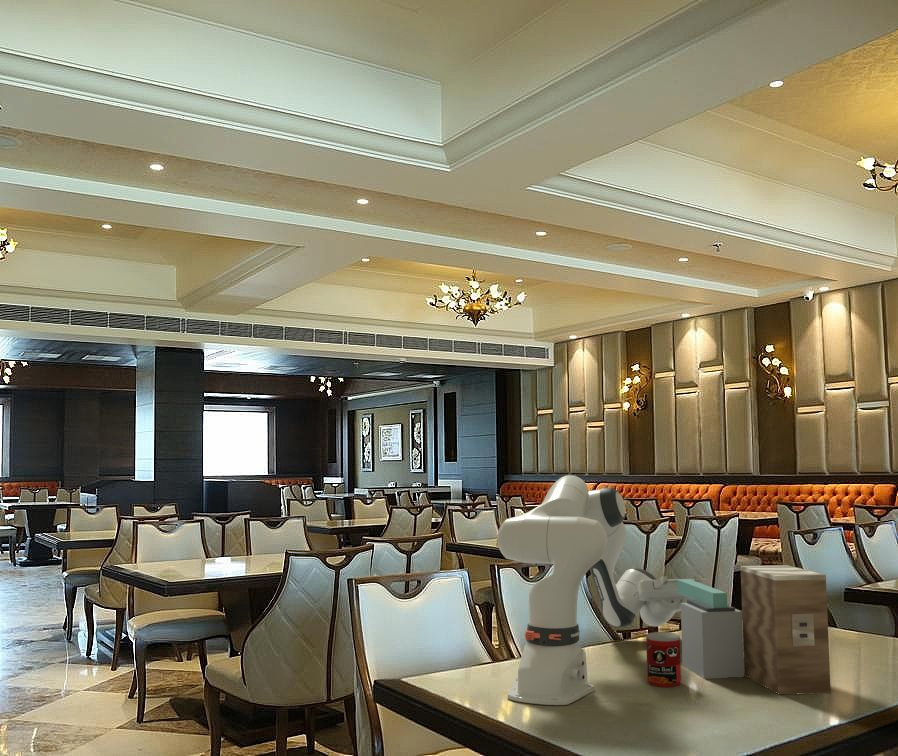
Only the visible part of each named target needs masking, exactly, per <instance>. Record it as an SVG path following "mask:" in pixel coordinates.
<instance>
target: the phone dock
mask: <svg viewBox="0 0 898 756" xmlns="http://www.w3.org/2000/svg"><path fill="white" fill-rule="evenodd" d="M680 621H681V623H680V625H681V626H680V627H681V650H682V651H681V653H682V654H681V658H682V662H681V663H682V664H681V665H682V666H683V667H685V668H686V669H688V670H689V671H691V672H693V673H694V674H696V675H697V676H699V677H700V678H702V679H705V680H706V679H707V680H708V679H711V680H712V679H729V678H728V677H744V678H745V675H744V652H743V622H742V610H739V609H737V608H736V607H733V606H732V605H729V604H727V608H712V607H710V606H707V605H705V604H703V603H700V602H698V601H696V600H687V603H681V611H680Z"/></svg>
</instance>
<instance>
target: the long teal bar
mask: <svg viewBox="0 0 898 756" xmlns="http://www.w3.org/2000/svg"><path fill="white" fill-rule="evenodd" d="M688 579H689V580H677V586H678V593H679V594H681V595H684V596H686V597H688V598H691V599H693V600H696V601H698V602H700V603H703V604H705V605H707V606H710V607H712V608H727V605H728V592H725V591H722V590H720V589H717V588H714V587H709V586H706V585H704V584H701V583H698V582H695V581H693V580H690V579H691V578H688Z"/></svg>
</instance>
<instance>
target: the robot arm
mask: <svg viewBox="0 0 898 756" xmlns="http://www.w3.org/2000/svg"><path fill="white" fill-rule="evenodd" d="M625 518H626V504H625V500H624V498H623V496H622V495H621V493H620V492H619V490H617V489H615V488H614V487H601V488H600V489H592V490H589V487H588V485H587V483H586V482H585V481H584V480H583V479H582V478H580V477H579V476H577V475H572V474H568V475H564V476H561V477H560V478H559V479H557V480H555V482H553V484H552V485H551V486H550V488H549V489H548V491H547V493H546V495H545V497H544V499H543V500H542V502H541V504H539V505H538V506H536V507H534V508H533V509H531V510H528V511H527V512H525V513H523V514H520V515H517V516H513V517H509V518H506V519H505V520H504V521H503V522H502V523H501V525H500V526H499V528H498V533H497V540H496V541H497V546H498V549H499V551H500V553H501V554H502V555H503V557H504V558H505V559H506V560H510V561H515V562H519V563H523V564H547V565H548V564H550V565H553V571H552V574H551V575H550V576H547V577H545V578H543V579H541V580H539V581H538V582H537V581H536V583H534V584H533V585H532V587H531V588H530V590H529V593H528V624H527V628H526V630H525V633H524V639H525V641H526V644H525V645H524V646H523V650H522V654H521V657H520V661H519V665H518V668H517V669H518V670H517V677H516V678H514V680H513V682H512V684H511V687H510V689H509V691H508V693H507V699H508V700H512V701H514V702H518V703H525V704H526V703H527V704H535V705H546V706H567V705H570V704H571V703H575V702H576V701H578V700H579V699H581V698H584V697H585V696H586V695H588V694H591V693H593V692H595V685H594V684H593V683H590V682H588V681H589V680H588V666H587V653H586V650H584V649H583V648H582V647H581V645H580V642H579V641H580V625H579V624H578V621H577V620H578V597H579V589H580V586H581V584H582V581H583V578H584V577H585V576H586V574H587V573H588V572H589V571H590V575H591V578H592V581H593V584H594V587H595V590H596V592H597V596H598V599H599V605H600V606H599V607H600V612H601V615H602V617H603V618H604V621H606V622H607V623H608V624H609V625H610V626H613V627H615V628H627V627H630V626H632V624H633V623H634V620H635V619H636V616H638V614H639V613H640V618H641V620H642V621H643V622H644V623H645V624H646V625H647V626H649V627H661V626H663V625H665V624H666V623H667V622H669V621H670V620H671V619H672V618H673V617H674V615H675V614H676V613H678V612H681V603H687V600H693V599H691V598H688V597H686V596H684V595H681V594H679V593H678V586H677V580H689V579H690V580H693V581H695V582H698V583H701V584H704V585H706V586H709V587H712V582H711V580H710V579H709V578H702V576H701V575H695V576H694V577H693V578H678V579H677V578H673V579H671V578H670V579H668V576H665V575H664V576H660V578H656V577H655V576H654V575H653V574H652V573H650V572H649V571H647V570H646V569H643V568H636V567H634V568H633V567H632V568H627V569H626V570H625V571H624V573H623V574H622V575H621V576H620V578H619V579H618V581H617V583H616V581H615V577H614V573H615V572H614V571H615V567H616V564H617V562H618V559H619V557H620V555H621V552H622V551H623V548H624V546H625V544H626V540H627V533H626V532H627V531H626V526H625V524H624V520H625ZM712 588H713V587H712Z"/></svg>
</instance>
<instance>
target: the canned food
mask: <svg viewBox="0 0 898 756" xmlns="http://www.w3.org/2000/svg"><path fill="white" fill-rule="evenodd" d="M645 643H646V644H645V646H646V647H645V648H646V676H647V678H646V679H647V682H648V683H649V685H652V686H655V687H660V688H661V687H662V688H673V687H679V685H680V684H681V682H682V670H681V669H682V667H681V666H682V664H681V663H682V662H681V658H682V655H681V635H680V634H678V633H673V632H668V631H654V632H653V631H652V632H649V633H647V634H646V638H645Z"/></svg>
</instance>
